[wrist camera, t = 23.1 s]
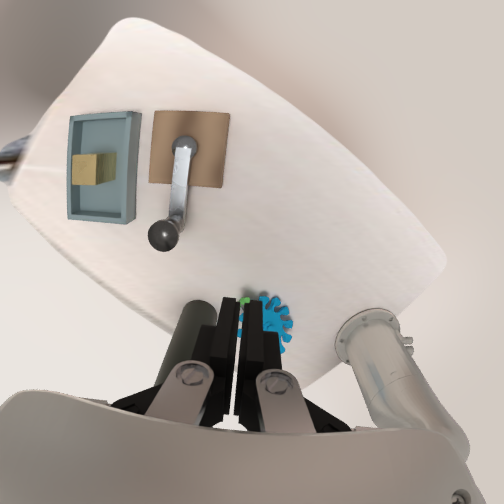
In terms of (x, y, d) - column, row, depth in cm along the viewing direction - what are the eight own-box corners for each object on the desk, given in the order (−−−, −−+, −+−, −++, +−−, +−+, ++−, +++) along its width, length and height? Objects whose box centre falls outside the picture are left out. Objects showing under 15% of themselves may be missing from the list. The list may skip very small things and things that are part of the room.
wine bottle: (222, 309, 46) (194, 486, 17) (209, 334, 47) (176, 499, 19) (190, 294, 45) (128, 463, 16) (178, 320, 46) (120, 480, 18)
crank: (174, 134, 34) (157, 132, 27) (201, 137, 34) (189, 134, 28) (164, 232, 39) (147, 249, 32) (189, 235, 39) (176, 253, 32)
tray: (141, 113, 35) (132, 111, 32) (135, 218, 40) (126, 224, 37) (82, 117, 35) (70, 116, 31) (79, 213, 40) (67, 219, 37)
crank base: (229, 115, 35) (228, 113, 33) (222, 186, 39) (220, 188, 37) (159, 112, 35) (154, 110, 33) (153, 180, 38) (148, 182, 36)
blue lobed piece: (304, 333, 45) (264, 375, 40) (281, 331, 50) (243, 368, 44) (273, 276, 43) (225, 316, 38) (251, 280, 48) (206, 315, 43)
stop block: (116, 152, 36) (96, 154, 30) (115, 179, 38) (95, 185, 32) (94, 152, 36) (72, 155, 30) (93, 178, 37) (71, 184, 32)
